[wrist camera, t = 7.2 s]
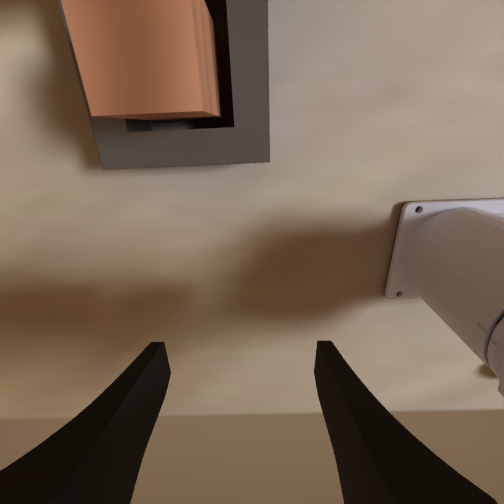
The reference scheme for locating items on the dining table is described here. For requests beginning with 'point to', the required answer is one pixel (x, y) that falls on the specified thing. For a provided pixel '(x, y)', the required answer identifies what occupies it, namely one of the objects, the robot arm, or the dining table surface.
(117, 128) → the socket
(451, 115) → the dining table surface
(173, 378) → the dining table surface
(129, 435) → the robot arm
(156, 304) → the dining table surface
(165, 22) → the peg
